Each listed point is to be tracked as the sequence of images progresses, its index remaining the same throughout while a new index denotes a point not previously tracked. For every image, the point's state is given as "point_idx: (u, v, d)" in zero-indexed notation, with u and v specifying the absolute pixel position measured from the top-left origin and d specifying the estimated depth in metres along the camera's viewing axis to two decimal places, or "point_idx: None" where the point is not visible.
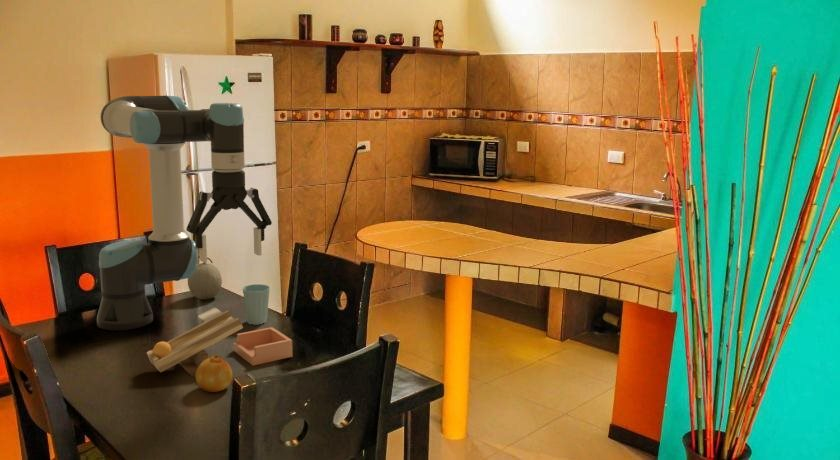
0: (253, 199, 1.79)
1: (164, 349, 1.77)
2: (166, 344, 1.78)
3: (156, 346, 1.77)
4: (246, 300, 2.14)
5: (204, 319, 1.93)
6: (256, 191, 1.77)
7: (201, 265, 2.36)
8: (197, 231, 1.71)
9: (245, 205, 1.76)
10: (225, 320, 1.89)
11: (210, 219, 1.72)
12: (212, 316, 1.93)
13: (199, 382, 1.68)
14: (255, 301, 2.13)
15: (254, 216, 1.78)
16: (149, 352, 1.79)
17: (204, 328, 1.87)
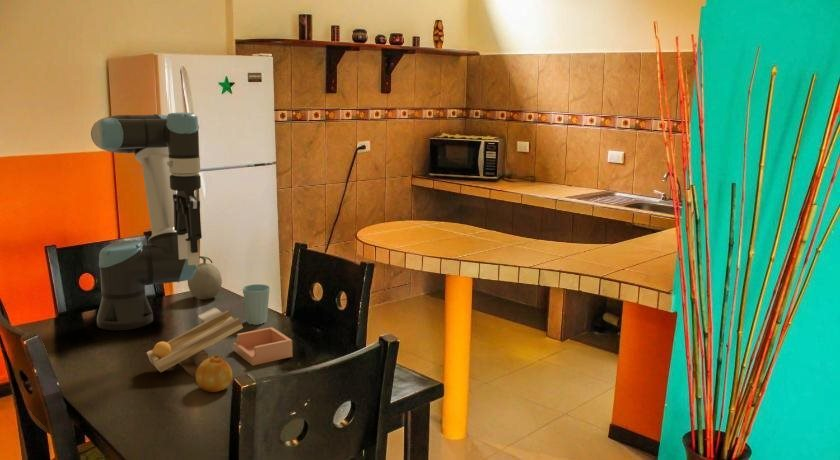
0: None
1: (164, 349, 1.77)
2: (166, 344, 1.78)
3: (156, 346, 1.77)
4: (246, 300, 2.14)
5: (204, 319, 1.93)
6: (189, 203, 1.85)
7: (201, 265, 2.36)
8: None
9: (183, 211, 1.88)
10: (225, 320, 1.89)
11: (178, 219, 1.93)
12: (212, 316, 1.93)
13: (199, 382, 1.68)
14: (255, 301, 2.13)
15: (187, 225, 1.88)
16: (149, 352, 1.79)
17: (204, 328, 1.87)
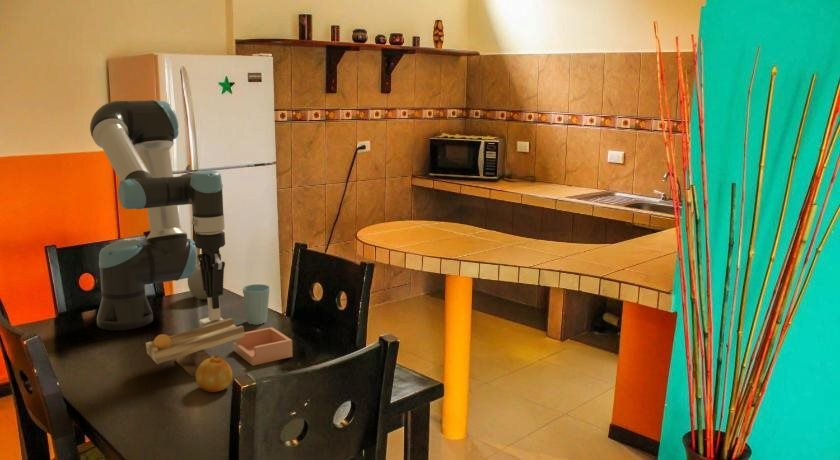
0: None
1: (165, 342, 1.76)
2: (168, 337, 1.78)
3: (158, 337, 1.77)
4: (246, 300, 2.14)
5: (206, 323, 1.93)
6: (214, 265, 1.86)
7: None
8: None
9: (207, 268, 1.90)
10: (227, 327, 1.90)
11: (206, 278, 1.93)
12: (214, 322, 1.94)
13: (199, 382, 1.68)
14: (255, 301, 2.13)
15: (209, 282, 1.91)
16: (149, 343, 1.78)
17: (206, 331, 1.87)
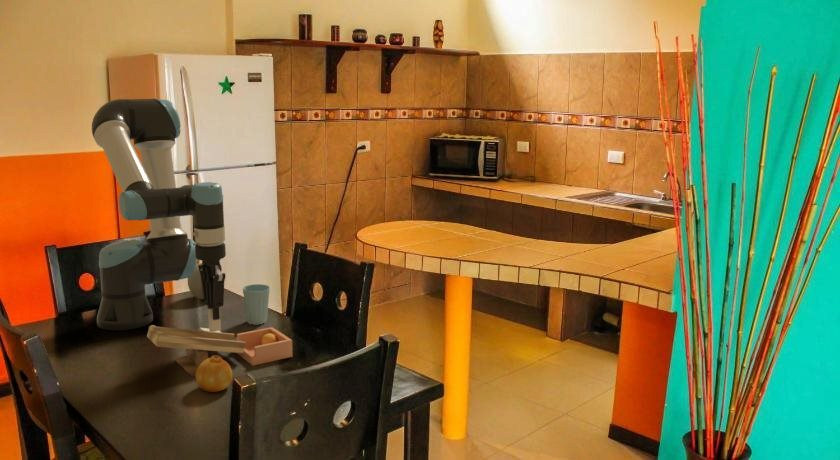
0: None
1: None
2: None
3: None
4: (246, 300, 2.14)
5: None
6: (215, 277, 1.87)
7: None
8: None
9: (207, 280, 1.90)
10: None
11: (206, 289, 1.93)
12: None
13: (199, 382, 1.68)
14: (255, 301, 2.13)
15: (210, 294, 1.91)
16: (153, 326, 1.78)
17: (207, 336, 1.88)
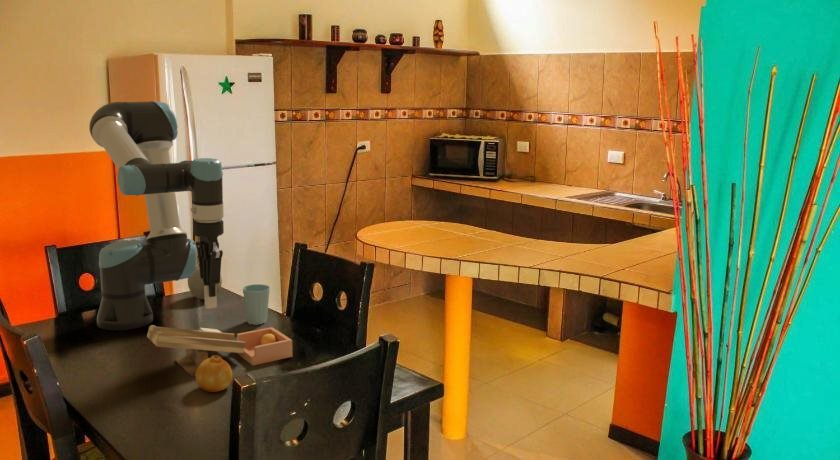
0: None
1: None
2: None
3: None
4: (246, 300, 2.14)
5: None
6: (212, 254, 1.86)
7: None
8: None
9: (204, 256, 1.89)
10: None
11: (203, 266, 1.92)
12: None
13: (199, 382, 1.68)
14: (255, 301, 2.13)
15: (207, 270, 1.90)
16: (153, 326, 1.78)
17: (207, 336, 1.88)
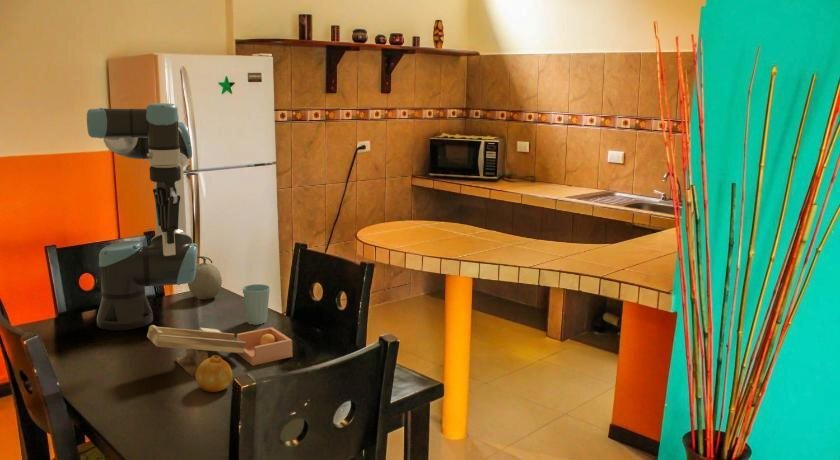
0: None
1: None
2: None
3: None
4: (246, 300, 2.14)
5: None
6: (169, 198, 1.85)
7: (201, 265, 2.36)
8: None
9: (162, 202, 1.88)
10: None
11: (161, 213, 1.91)
12: None
13: (199, 382, 1.68)
14: (255, 301, 2.13)
15: (164, 217, 1.90)
16: (153, 326, 1.78)
17: (207, 336, 1.88)
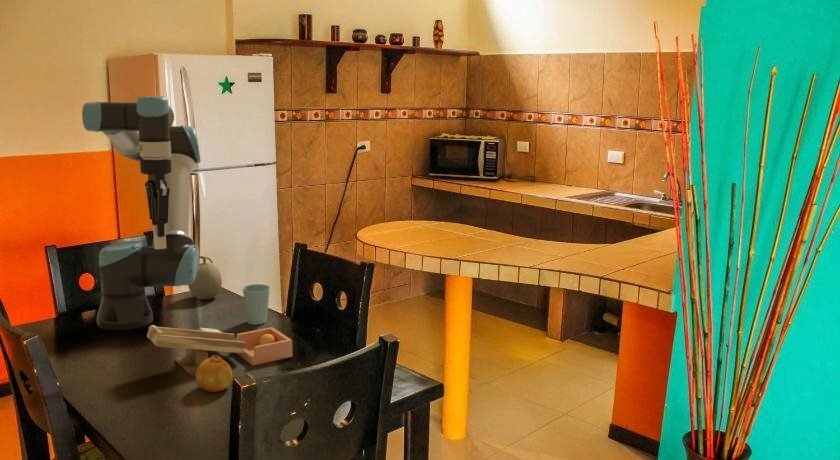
0: None
1: None
2: None
3: None
4: (246, 300, 2.14)
5: None
6: (159, 190, 1.84)
7: (201, 265, 2.36)
8: None
9: (152, 195, 1.88)
10: None
11: (151, 206, 1.91)
12: None
13: (199, 382, 1.68)
14: (255, 301, 2.13)
15: (155, 210, 1.89)
16: (153, 326, 1.78)
17: (207, 336, 1.88)
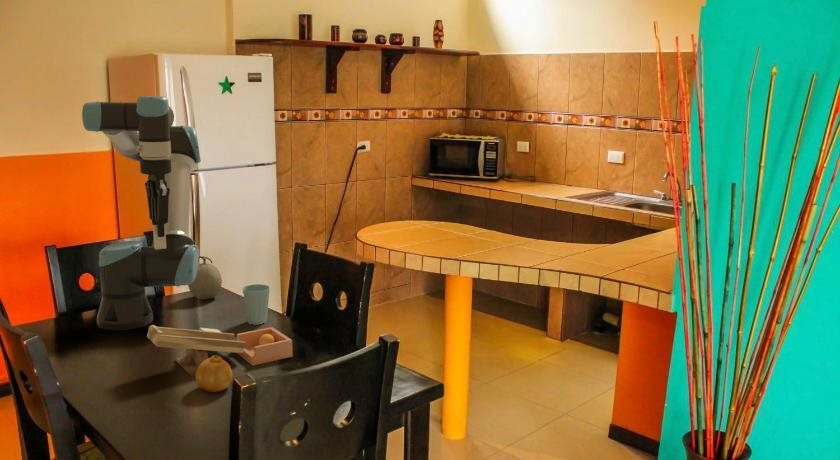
0: None
1: None
2: None
3: None
4: (246, 300, 2.14)
5: None
6: (159, 190, 1.84)
7: (201, 265, 2.36)
8: None
9: (152, 195, 1.88)
10: None
11: (151, 206, 1.91)
12: None
13: (199, 382, 1.68)
14: (255, 301, 2.13)
15: (155, 210, 1.89)
16: (153, 326, 1.78)
17: (207, 336, 1.88)
